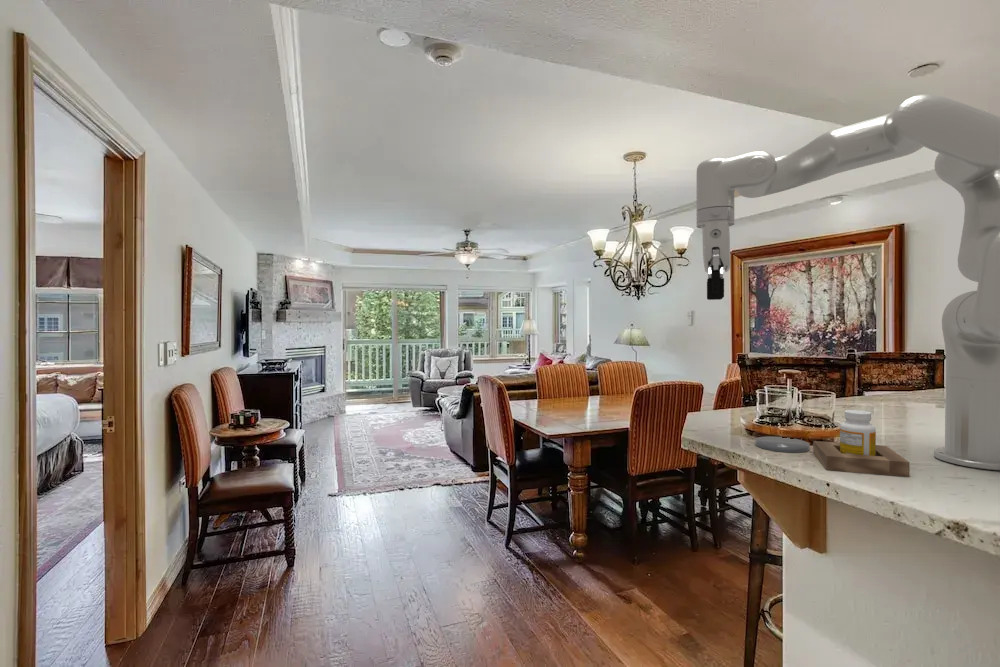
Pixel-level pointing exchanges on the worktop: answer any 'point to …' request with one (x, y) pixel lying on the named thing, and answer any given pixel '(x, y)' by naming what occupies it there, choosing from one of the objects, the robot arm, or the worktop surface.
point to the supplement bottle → (857, 434)
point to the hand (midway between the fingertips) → (715, 298)
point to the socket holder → (861, 460)
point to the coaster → (782, 444)
